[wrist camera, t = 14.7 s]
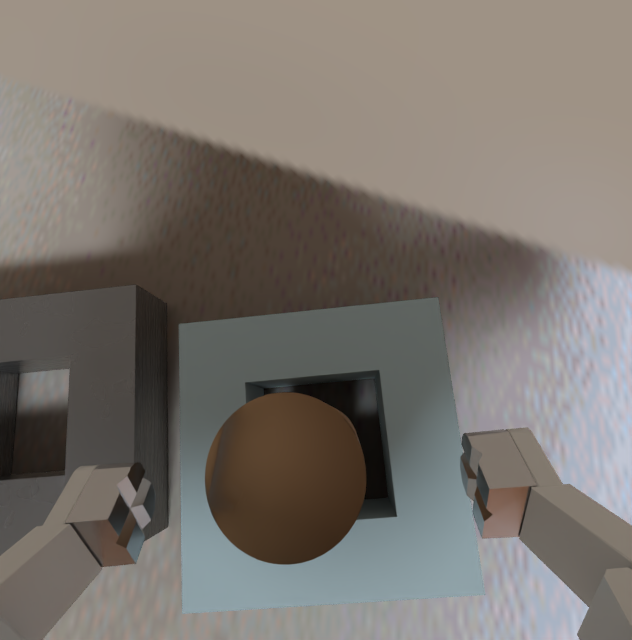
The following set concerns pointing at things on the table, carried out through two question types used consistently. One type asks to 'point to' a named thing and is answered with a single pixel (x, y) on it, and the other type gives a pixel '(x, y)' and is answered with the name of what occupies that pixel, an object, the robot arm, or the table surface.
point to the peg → (285, 478)
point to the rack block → (397, 442)
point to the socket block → (86, 393)
